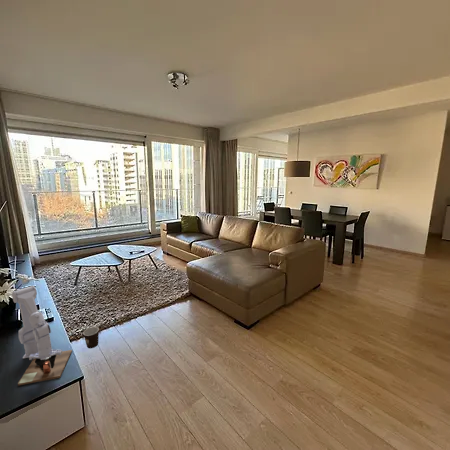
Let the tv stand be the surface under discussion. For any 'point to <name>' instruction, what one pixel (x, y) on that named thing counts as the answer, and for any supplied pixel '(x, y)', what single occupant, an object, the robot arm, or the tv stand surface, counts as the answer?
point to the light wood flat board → (37, 373)
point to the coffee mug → (91, 336)
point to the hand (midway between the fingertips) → (48, 367)
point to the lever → (46, 366)
